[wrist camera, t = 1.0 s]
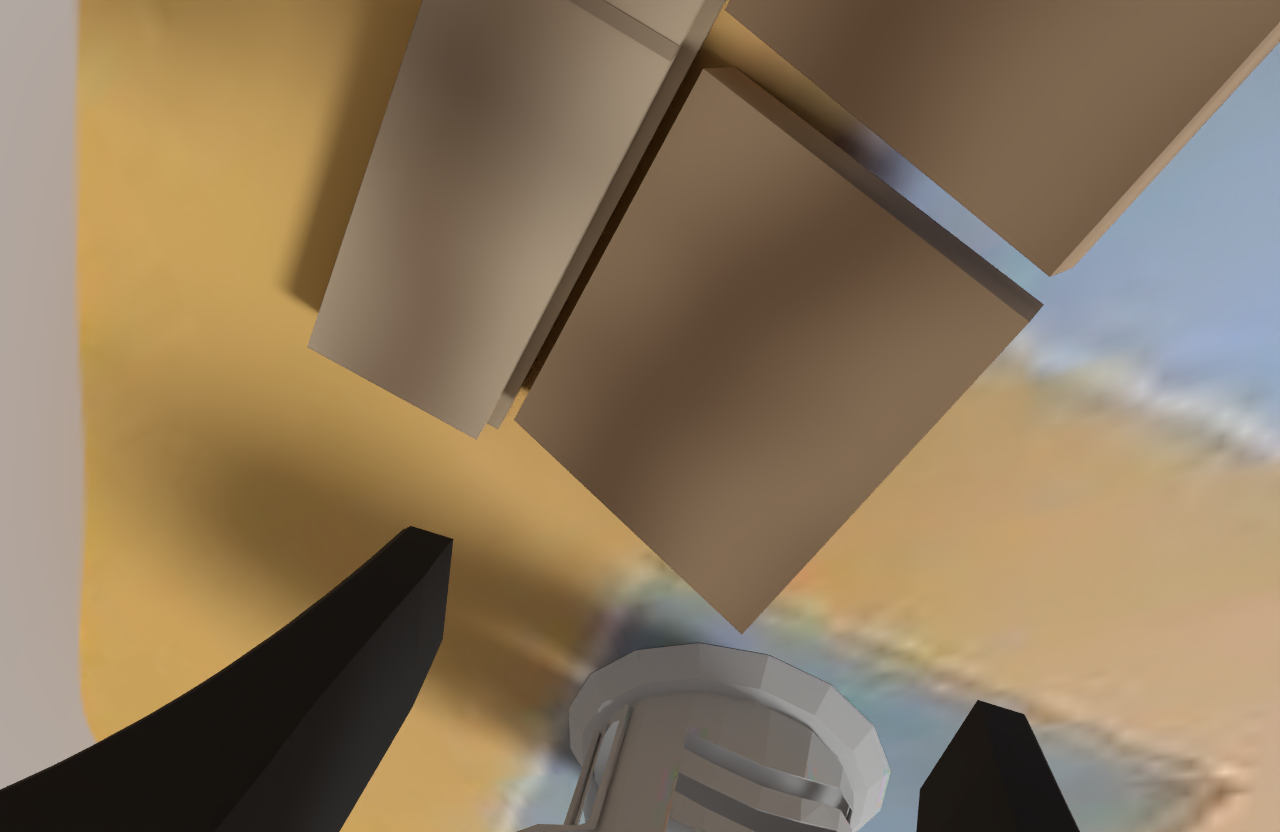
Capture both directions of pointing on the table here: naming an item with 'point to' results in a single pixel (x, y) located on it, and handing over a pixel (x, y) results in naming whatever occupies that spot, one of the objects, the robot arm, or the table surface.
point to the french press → (719, 747)
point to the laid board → (496, 189)
